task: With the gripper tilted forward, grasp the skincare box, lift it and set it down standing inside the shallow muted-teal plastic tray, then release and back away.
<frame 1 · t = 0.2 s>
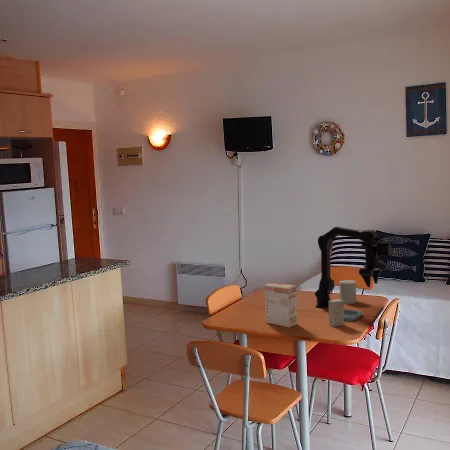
hand: (372, 285, 262), 14 cm above the table, fingers open, 9 cm apart
can: (348, 302, 288), on the table
tray: (346, 316, 259), on the table
skincare box: (336, 325, 247), on the table
coffeecake box: (281, 324, 254), on the table
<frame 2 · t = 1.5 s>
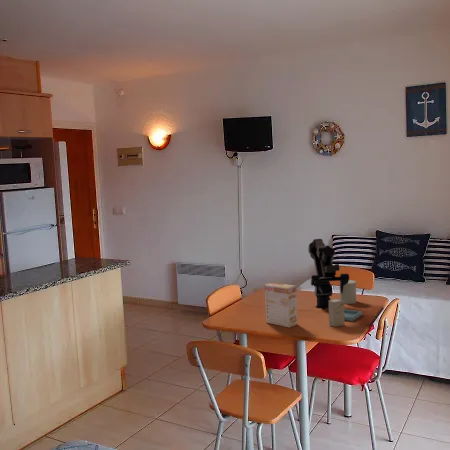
hand: (332, 293, 253), 13 cm above the table, fingers open, 9 cm apart
nothing on the table moved.
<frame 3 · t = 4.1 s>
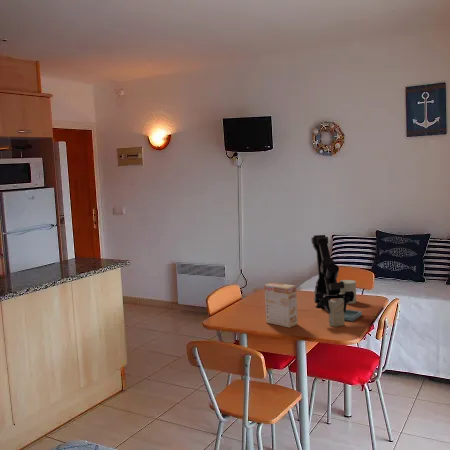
hand: (337, 312, 245), 7 cm above the table, fingers closed on skincare box, 7 cm apart
skincare box: (336, 325, 247), on the table, touching gripper
everything else where it was.
when the fingers open (8 cm above the table, at t = 8.5 s): skincare box stays where it is, resting on tray.
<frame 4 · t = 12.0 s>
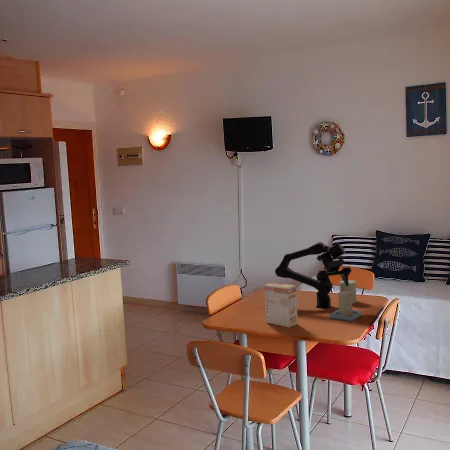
hand: (340, 287, 266), 14 cm above the table, fingers open, 9 cm apart
skincare box: (345, 315, 260), resting on tray
everything else where it was.
at the end: skincare box inside the target area on the tray (0.2 cm from its centre), point 0.4 cm above the tray's base; skincare box tilted 0°; the gripper is holding nothing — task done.
